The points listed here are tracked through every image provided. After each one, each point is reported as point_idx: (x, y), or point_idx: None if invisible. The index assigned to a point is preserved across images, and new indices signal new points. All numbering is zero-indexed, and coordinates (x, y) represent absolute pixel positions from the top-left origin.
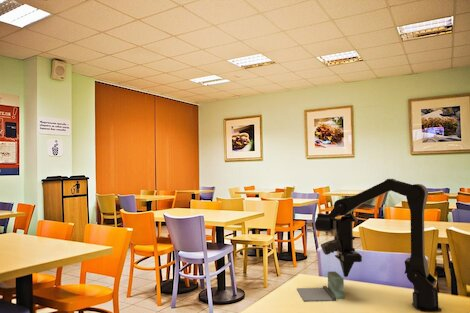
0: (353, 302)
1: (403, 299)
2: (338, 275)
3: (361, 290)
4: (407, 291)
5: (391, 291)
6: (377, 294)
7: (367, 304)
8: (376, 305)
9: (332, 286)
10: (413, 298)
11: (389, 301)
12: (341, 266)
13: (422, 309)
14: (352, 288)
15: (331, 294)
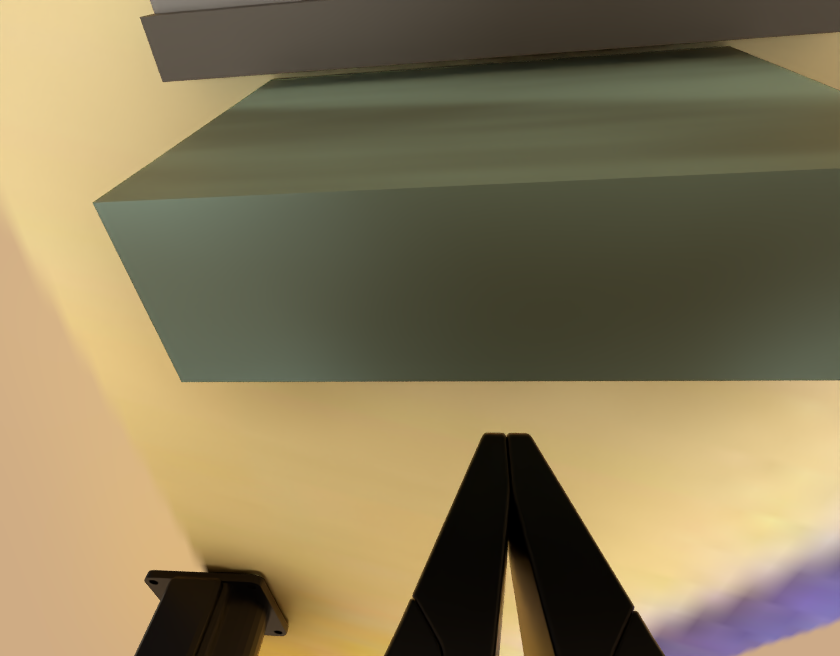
0: None
1: (364, 573)
2: (449, 353)
3: (619, 436)
4: None
5: None
6: None
7: None
8: (186, 419)
9: (418, 106)
10: (189, 622)
11: (308, 509)
12: (605, 619)
13: (159, 581)
14: (717, 385)
15: (325, 33)
